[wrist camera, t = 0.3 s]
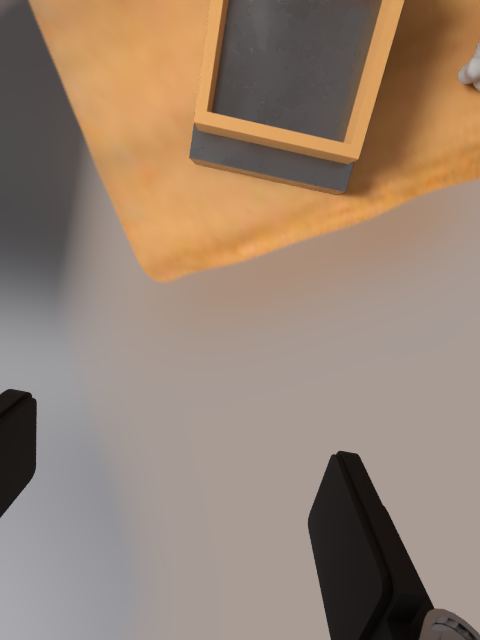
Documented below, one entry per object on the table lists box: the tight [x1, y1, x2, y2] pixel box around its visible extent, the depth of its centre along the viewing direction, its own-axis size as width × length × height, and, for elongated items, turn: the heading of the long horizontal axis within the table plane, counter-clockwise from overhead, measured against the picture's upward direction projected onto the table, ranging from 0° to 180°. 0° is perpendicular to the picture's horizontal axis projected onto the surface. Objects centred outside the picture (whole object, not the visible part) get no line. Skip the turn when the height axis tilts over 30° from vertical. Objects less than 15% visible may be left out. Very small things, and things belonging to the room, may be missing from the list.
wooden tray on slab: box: [189, 0, 404, 195], centre depth 29 cm, size 20×16×7 cm
